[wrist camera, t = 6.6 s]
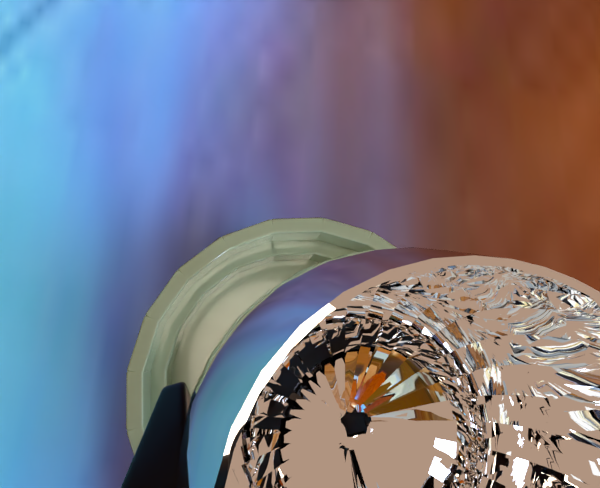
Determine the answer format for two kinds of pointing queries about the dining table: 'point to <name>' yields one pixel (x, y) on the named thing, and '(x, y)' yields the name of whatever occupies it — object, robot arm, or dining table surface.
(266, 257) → the dish
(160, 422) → the robot arm
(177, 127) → the dining table surface
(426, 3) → the dining table surface
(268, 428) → the wineglass
